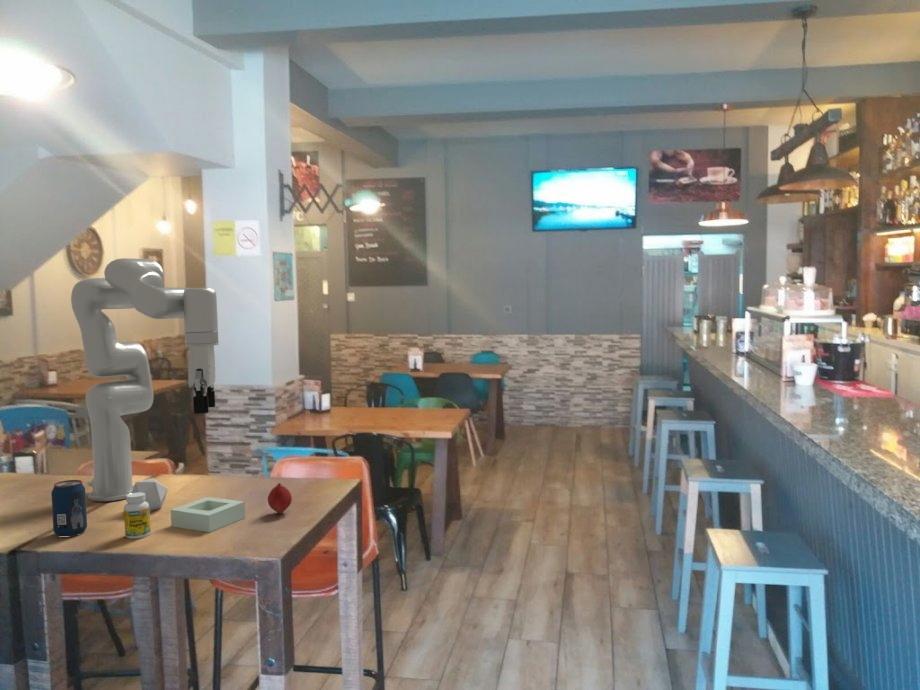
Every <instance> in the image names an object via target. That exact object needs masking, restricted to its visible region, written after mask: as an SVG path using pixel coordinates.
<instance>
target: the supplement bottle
mask: <svg viewBox="0 0 920 690" xmlns="http://www.w3.org/2000/svg"><path fill="white" fill-rule="evenodd" d="M144 500H145V493H141V492H139V493H132V494H128V495H127V496H126V499H125V501H126V504H125V505H124V506H123V518H124V519H123V520H124V535H125V538H127V539H130V540H135V539H138V540H139V539H144V538H146V537H147V536H149V535H151V519H150V518H151V517H150V516H151V515H150V514H151V513H150V512H151V511H150V512H149V504H148V503H147V502H146V501H144Z"/></svg>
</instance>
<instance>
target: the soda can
mask: <svg viewBox="0 0 920 690" xmlns="http://www.w3.org/2000/svg"><path fill="white" fill-rule="evenodd" d="M86 498H87V497H86V488H85V485H84V484H83V481H82V480H80V479H67V480H62V481H58V482H55V483H54V484H53V488H52V491H51V508H52V509H51V510H52V512H51V514H52V526H53V528H52V529H53V530H52V531H53V533H54V534H55V535H56V536H57V535H58V536H73V537H75V536H74V535H77V536H79V535H78V534H80V535H82V534H84V533H83V532H85V531H86V529H87V527H88V517H87V499H86ZM81 533H82V534H81ZM58 536H57V537H58Z"/></svg>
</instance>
